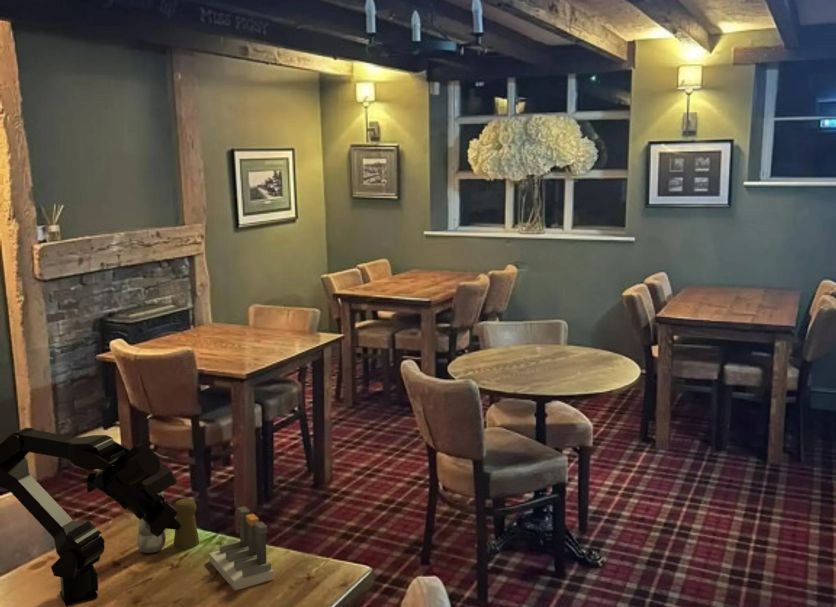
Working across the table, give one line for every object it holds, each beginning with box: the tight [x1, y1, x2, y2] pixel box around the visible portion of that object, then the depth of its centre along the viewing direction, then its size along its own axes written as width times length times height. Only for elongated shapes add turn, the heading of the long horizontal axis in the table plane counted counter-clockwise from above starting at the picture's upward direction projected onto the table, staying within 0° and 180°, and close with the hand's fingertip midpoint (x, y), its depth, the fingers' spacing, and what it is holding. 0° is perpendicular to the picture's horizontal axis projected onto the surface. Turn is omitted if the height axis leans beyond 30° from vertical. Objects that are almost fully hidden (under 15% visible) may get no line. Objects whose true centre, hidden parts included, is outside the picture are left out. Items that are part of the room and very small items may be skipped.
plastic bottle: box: [136, 490, 167, 554], centre depth 190 cm, size 6×7×20 cm
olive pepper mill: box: [173, 498, 200, 550], centre depth 194 cm, size 6×6×11 cm
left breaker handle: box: [237, 506, 251, 548], centre depth 187 cm, size 2×3×10 cm, turn 34°
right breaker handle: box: [254, 521, 269, 565], centre depth 178 cm, size 2×3×10 cm, turn 34°
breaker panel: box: [208, 540, 275, 591], centre depth 182 cm, size 9×16×4 cm, turn 34°
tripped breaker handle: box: [246, 513, 260, 556], centre depth 183 cm, size 2×3×10 cm, turn 34°
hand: (179, 527), depth 173 cm, fingers closed
